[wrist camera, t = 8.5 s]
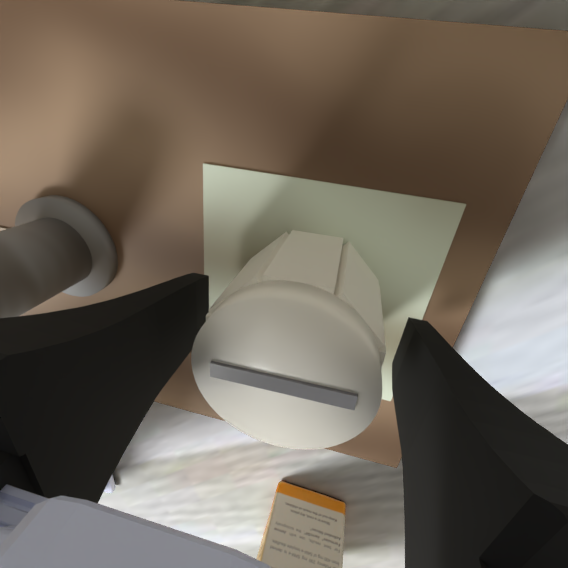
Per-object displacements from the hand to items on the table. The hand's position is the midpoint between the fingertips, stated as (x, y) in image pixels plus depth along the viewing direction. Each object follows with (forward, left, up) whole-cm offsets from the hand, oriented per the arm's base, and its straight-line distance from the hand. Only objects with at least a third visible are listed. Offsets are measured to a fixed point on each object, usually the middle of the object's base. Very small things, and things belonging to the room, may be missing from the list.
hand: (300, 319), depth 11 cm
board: (0, +6, -3) cm, 7 cm away
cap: (0, 0, -2) cm, 2 cm away
